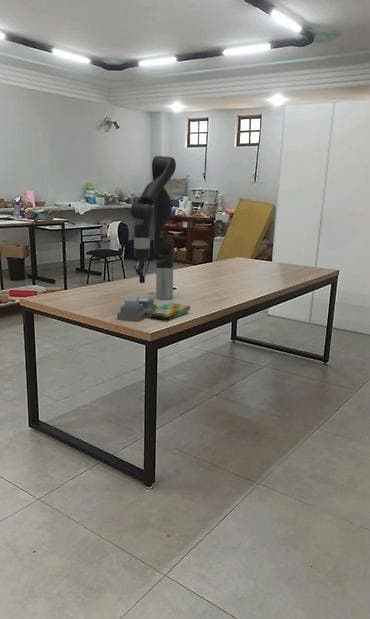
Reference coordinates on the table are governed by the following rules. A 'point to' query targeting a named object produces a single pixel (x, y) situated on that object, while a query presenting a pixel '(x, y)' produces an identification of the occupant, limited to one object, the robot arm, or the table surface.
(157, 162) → the robot arm
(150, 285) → the table surface
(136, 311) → the grey plastic block
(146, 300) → the white key
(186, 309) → the puzzle game
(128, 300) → the blue key
